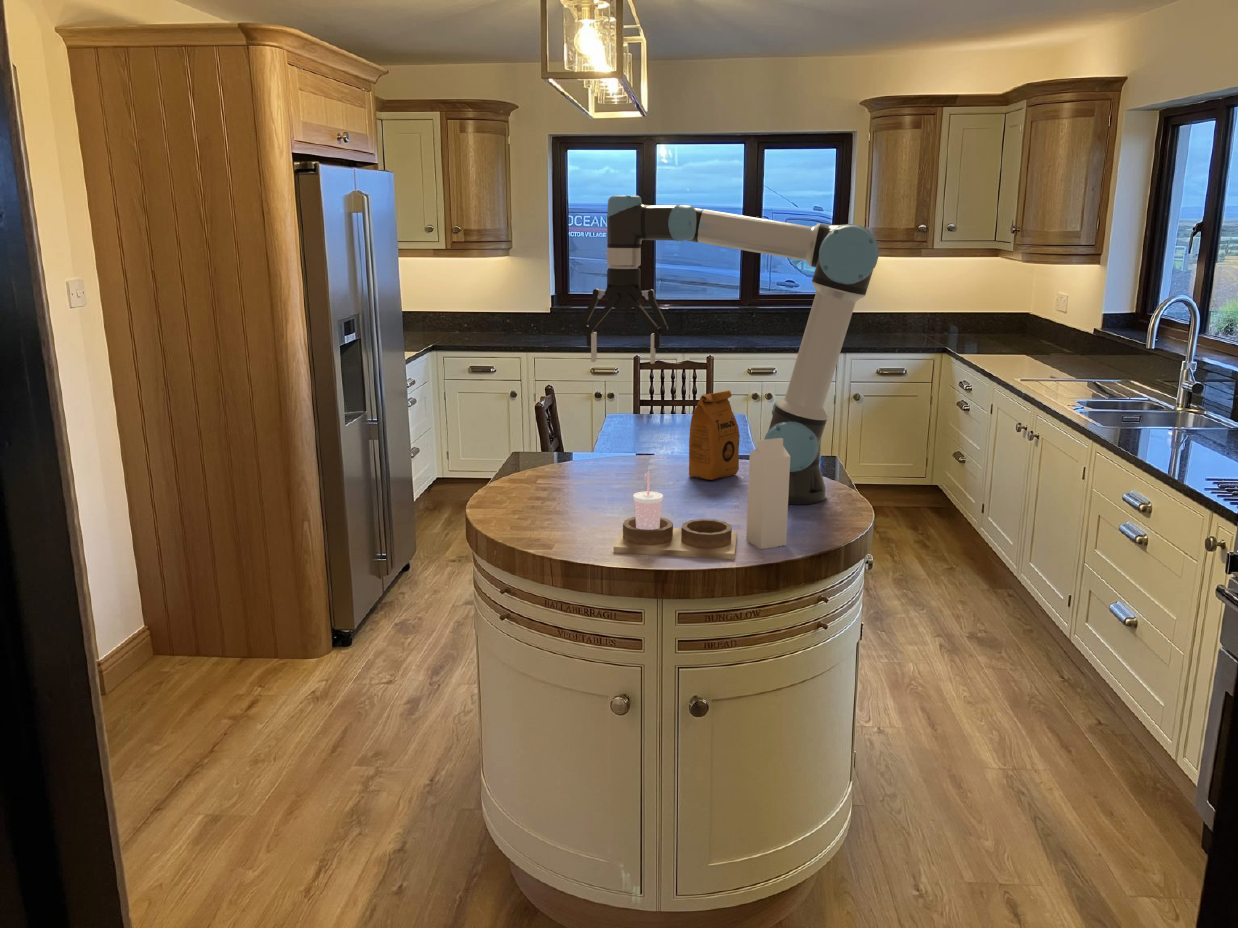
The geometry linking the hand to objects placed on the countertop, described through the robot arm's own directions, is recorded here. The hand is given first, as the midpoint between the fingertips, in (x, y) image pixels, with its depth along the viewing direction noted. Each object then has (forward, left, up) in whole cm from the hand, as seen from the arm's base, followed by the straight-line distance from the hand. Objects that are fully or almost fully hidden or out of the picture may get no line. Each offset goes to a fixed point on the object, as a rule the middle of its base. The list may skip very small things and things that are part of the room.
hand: (623, 362), depth 224 cm
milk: (-34, +26, -33) cm, 54 cm away
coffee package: (-20, -25, -33) cm, 46 cm away
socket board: (-16, +30, -33) cm, 47 cm away
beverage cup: (-10, +30, -32) cm, 45 cm away
